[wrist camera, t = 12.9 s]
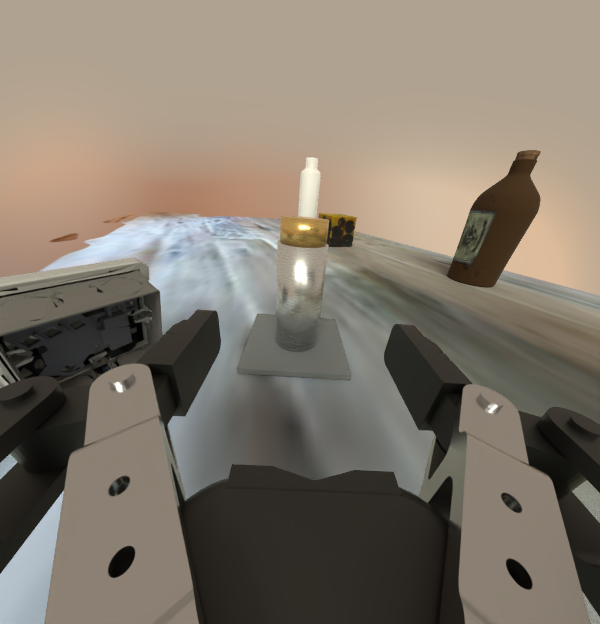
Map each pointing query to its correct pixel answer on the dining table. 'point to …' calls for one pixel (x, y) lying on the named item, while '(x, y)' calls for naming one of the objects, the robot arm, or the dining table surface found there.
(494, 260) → the olive oil
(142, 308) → the electrical switch
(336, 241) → the yellow black spotted box
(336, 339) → the mat
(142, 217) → the dining table surface
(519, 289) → the dining table surface
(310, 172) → the bottle
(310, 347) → the canister
